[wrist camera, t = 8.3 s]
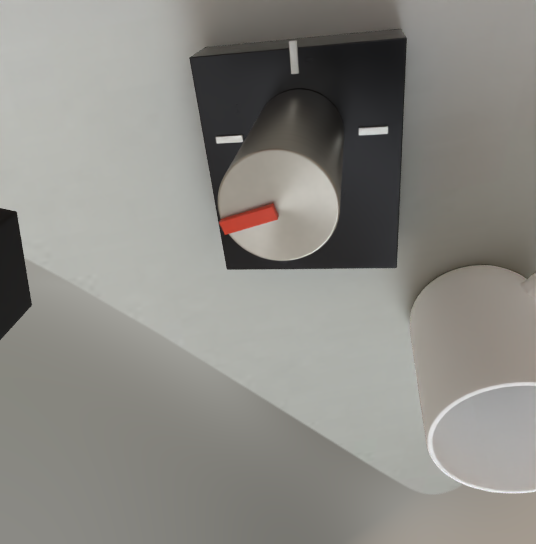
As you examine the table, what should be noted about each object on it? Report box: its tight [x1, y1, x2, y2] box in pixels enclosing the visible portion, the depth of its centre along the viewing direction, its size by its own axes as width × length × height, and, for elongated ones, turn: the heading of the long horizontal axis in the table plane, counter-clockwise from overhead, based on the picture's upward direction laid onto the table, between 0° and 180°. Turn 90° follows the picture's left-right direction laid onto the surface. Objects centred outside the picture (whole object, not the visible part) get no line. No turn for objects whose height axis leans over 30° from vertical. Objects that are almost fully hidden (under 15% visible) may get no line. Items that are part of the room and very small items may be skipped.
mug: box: [410, 265, 536, 493], centre depth 27 cm, size 12×8×10 cm
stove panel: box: [190, 29, 407, 269], centre depth 27 cm, size 12×10×3 cm
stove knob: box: [218, 89, 344, 261], centre depth 21 cm, size 4×4×9 cm
